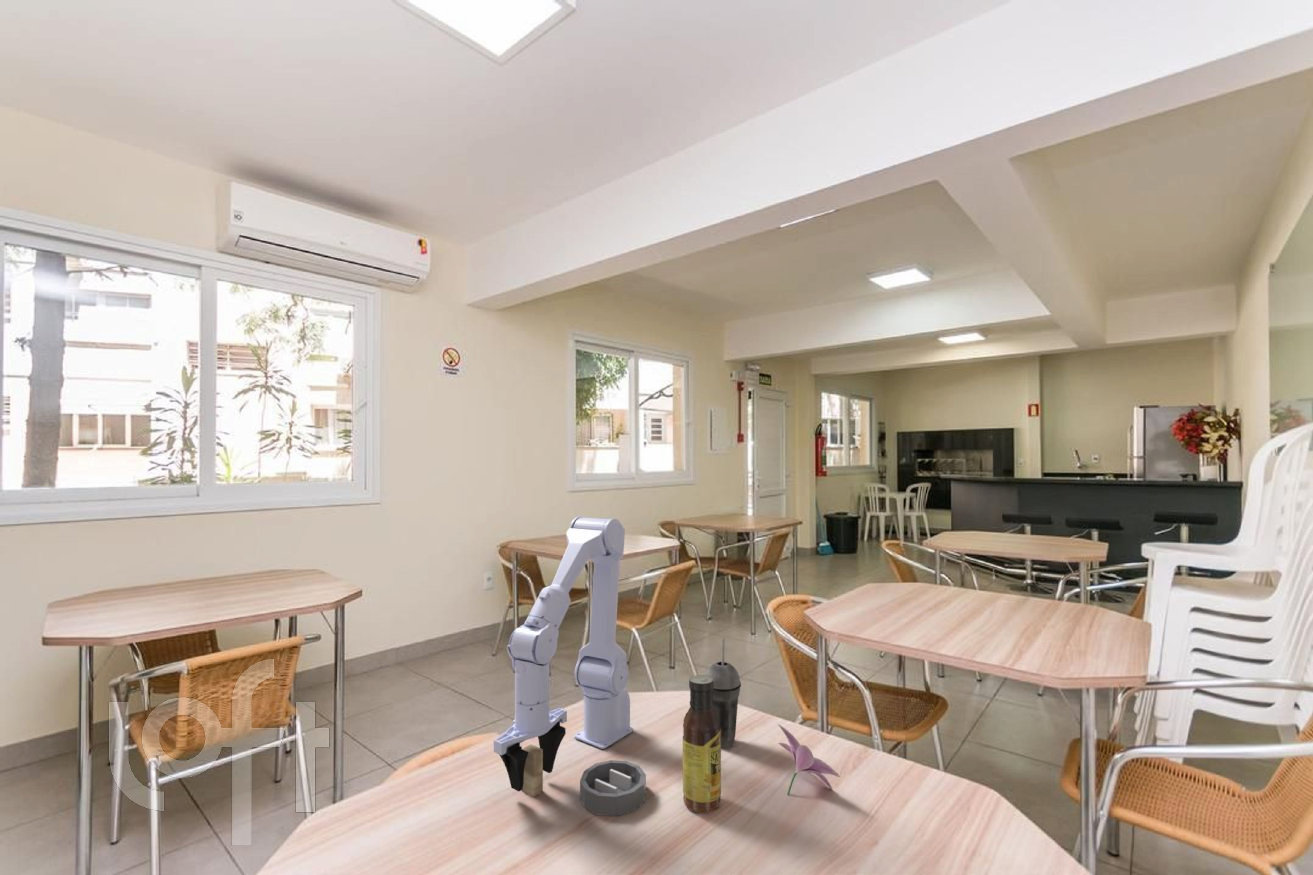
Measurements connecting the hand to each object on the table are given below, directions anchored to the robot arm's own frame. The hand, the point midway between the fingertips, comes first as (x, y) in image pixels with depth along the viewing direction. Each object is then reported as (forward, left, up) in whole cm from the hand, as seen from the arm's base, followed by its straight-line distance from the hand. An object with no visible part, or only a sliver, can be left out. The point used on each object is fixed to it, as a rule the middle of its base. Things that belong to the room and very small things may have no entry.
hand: (532, 779), depth 98 cm
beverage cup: (-33, +18, -2) cm, 38 cm away
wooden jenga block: (0, 0, -2) cm, 2 cm away
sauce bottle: (-14, +25, -2) cm, 29 cm away
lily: (-28, +37, -2) cm, 47 cm away
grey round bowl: (-7, +12, -2) cm, 14 cm away
